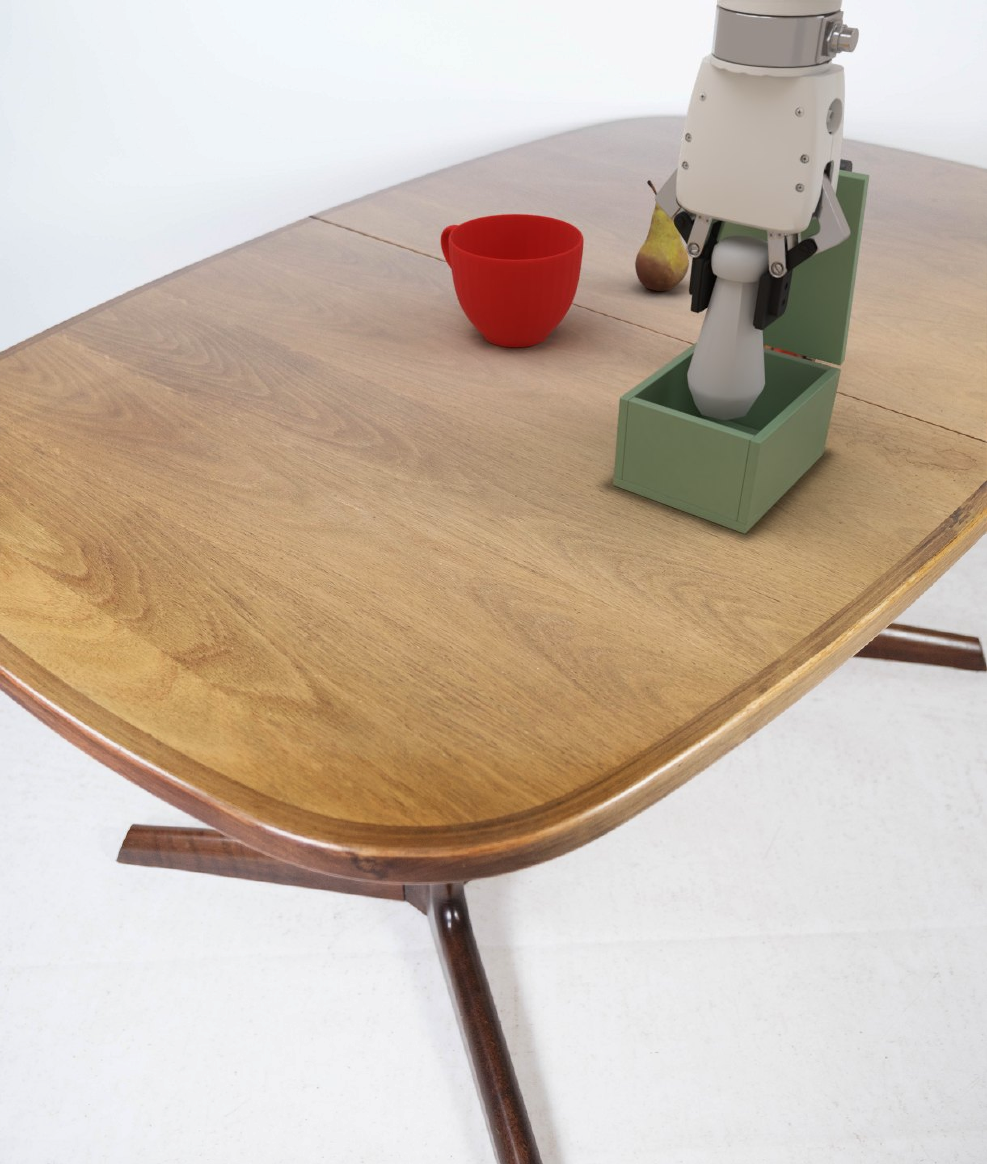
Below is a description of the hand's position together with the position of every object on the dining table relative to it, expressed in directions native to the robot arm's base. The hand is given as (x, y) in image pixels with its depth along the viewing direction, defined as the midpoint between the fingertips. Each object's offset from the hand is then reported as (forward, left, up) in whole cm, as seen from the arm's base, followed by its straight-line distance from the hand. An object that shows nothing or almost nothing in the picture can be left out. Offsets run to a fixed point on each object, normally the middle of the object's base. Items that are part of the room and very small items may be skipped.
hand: (735, 312), depth 78 cm
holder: (-1, -1, -14) cm, 14 cm away
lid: (-6, -4, +2) cm, 7 cm away
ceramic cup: (+6, -33, -14) cm, 37 cm away
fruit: (-14, -37, -14) cm, 42 cm away
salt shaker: (0, 0, -8) cm, 8 cm away
